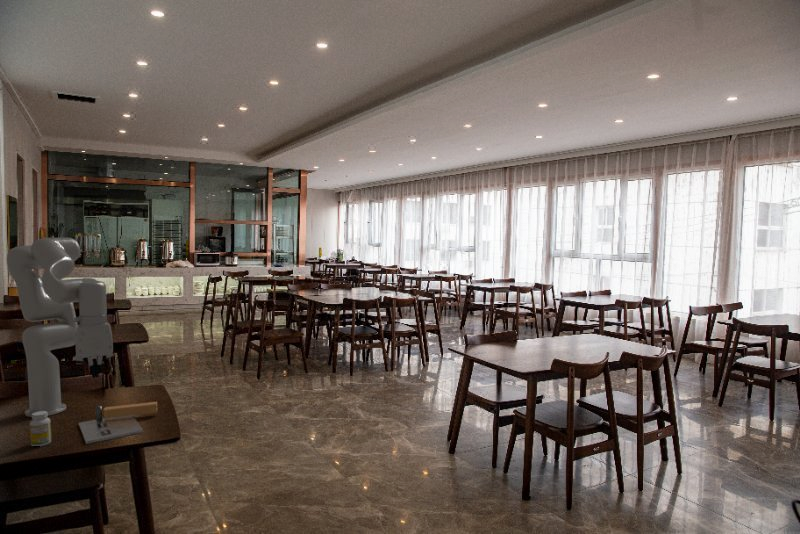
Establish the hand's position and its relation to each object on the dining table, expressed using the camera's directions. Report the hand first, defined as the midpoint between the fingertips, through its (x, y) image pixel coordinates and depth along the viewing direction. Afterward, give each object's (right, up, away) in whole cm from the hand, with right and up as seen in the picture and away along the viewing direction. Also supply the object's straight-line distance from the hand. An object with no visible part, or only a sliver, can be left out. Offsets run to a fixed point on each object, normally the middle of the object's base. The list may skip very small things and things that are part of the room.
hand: (95, 376), depth 174 cm
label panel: (+2, -18, +5) cm, 19 cm away
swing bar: (+5, -16, +14) cm, 22 cm away
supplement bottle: (-12, -19, -7) cm, 24 cm away
